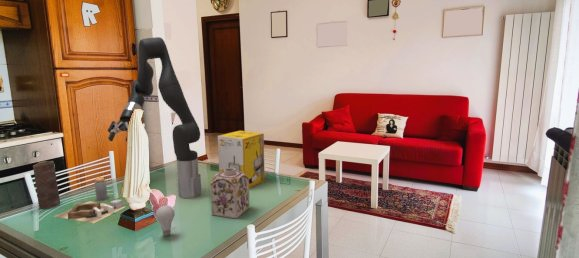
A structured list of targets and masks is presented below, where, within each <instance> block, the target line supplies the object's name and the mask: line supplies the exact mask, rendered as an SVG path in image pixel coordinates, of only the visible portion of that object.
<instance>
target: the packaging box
mask: <svg viewBox="0 0 579 258" xmlns="http://www.w3.org/2000/svg"><path fill="white" fill-rule="evenodd" d="M264 138H265V134H264V132H263V133H262V132H253V131H247V130H237V131H232V132H227V133H224V134H220V135H217V148H218V149H217V151H218V153H217V155H218V173H219V172H222V171H224V169H226V168H235V169H236V171H241V172H243V173H244V174H246V176H247V177H248V178H249V189H250V188H252V187H254V186H257V185H258V184H260V183H263V182H265V181H266V180H265V139H264Z"/></svg>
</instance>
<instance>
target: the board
mask: <svg viewBox="0 0 579 258" xmlns="http://www.w3.org/2000/svg"><path fill="white" fill-rule="evenodd" d="M90 203H100V206H101V208H100V209H99V210H101V212H102V211H104V210H103V205H109V206H110V203H104V202H103V203H102V202H97V201H91V200H90V201H87V202H84V203H83V204H90ZM73 208H74V207H72V208H70V209H68V210H65V211H63V212H61V213H59V214H56V215H54V216H53V218H54V217H55V218H60V219H66V220H69V219H68V213H69V212H70V211H71V210H72V209H73ZM125 208H126V206H124V205H123V206H122V207H120V208H118V209H114V213H113V214H115V213H117V212H119V211H121V210H123V209H125ZM81 211H89V210H81ZM111 215H112V214H111V213H106V214H103V215H102V217H100V218H99V217H97V216H96V217H92V218H86V217H84V218H73V219H70V220H71V221H78V222H82V223H83V222H85V223H90V224H95V223H97V222H99V221H101V220H103V219H105V218H107V217H109V216H111Z"/></svg>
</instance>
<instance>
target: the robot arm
mask: <svg viewBox="0 0 579 258" xmlns="http://www.w3.org/2000/svg"><path fill="white" fill-rule="evenodd" d="M154 59H159V60H160V62H161V71H160V72H161V73H160V76H159V79H158V84H157V85H158V90H159V92H160V95H161V98H162V101H163V102H164V103H165V104H166V105H167V106H168V108H170V109H171V110H172V111H173V112H174V113H175V114H176V115H177V116H178V118H179V119H180V122H181V124H178V125H175V126H174V127H173V130H172V142H173V143H172V144H173V151H174V155H175V157H176V158H175V159H176V169H177V171H176V172H177V173H176V174H177V186H178V197H179V198H181V199H192V198H193V199H195V198H196V197H198V196H200V195H201V194H202V177H201V176H202V175H201V173H199V157H198V154H199V153H198V152H197V151H195V150H192V149H191V148H190V144H194V143H196V142H199V140H200V138H201V131H200V127H199V124H198V123H197V120H196V119H195V117H194V115H193V114H192V111H191V110H190V107H189V105H188V103H187V100H186V97H185V95H184V92H183V89H182V86H181V84H180V81H179V79H178V77H177V75H176V71H175V69H174V66H173V63H172V61H171V58H170V53H169V50H168V47H167V44H166V42H165V40H164V39H163V38H162V37H159V36H158V37H157V36H155V37H149V38H146V37H145V38H142V39H140V40H139V42H138V70H137V75H136V79H134V80H133V81H132V82H131V87H130V95H129V98H128V100H127V103H126V105H124V108H123V110H122V112H121V114H120V117H119V120H118V122H117V121H115V120H112V121H111V123H110V124H109V127H108V129H107V132H108V133H109V135H108V141H110V142H113V141H114V139H115V136H116V135H117V134H118V133H120V132H128V131H127V130H128V125H129V121H130V118H131V115H132V113H133V111H134V109H141V110H142V108H143V106H144V103H145V99H144V97H150V96H151V95H153V92H154V85H153V77H154V69H153V67H152V65H151V64H150V63H149V62H148V61H149V60H154ZM125 141H126V142H127V136H126V137H125Z"/></svg>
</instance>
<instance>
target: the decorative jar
mask: <svg viewBox="0 0 579 258" xmlns="http://www.w3.org/2000/svg"><path fill="white" fill-rule="evenodd" d="M210 203H211V207H210V208H211V215H212V216H218V217H221V218H222V217H223V218H224V217H225V218H229V219H238V218H239V217H241V215H243V214H244V213H245V212H246V211H247V210H248V209H249V208H250V188H249V178H248V177H247V176H246V174H244V173H243V172H241V171H236V169H235V168H226V169H224V171H222V172H219V171H218V172H217V173H215V174H214V176H213V178H212V180H211V181H210Z"/></svg>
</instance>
